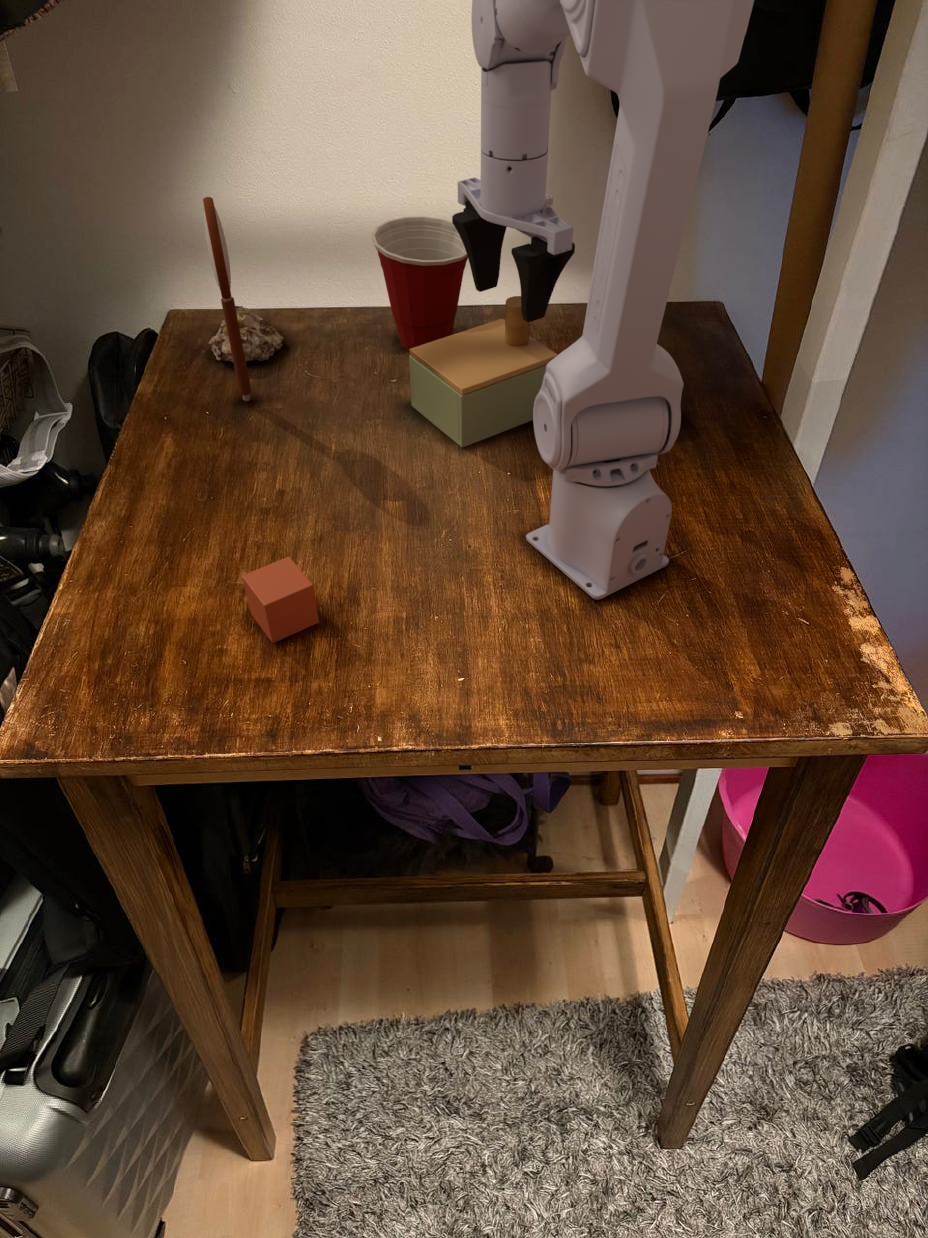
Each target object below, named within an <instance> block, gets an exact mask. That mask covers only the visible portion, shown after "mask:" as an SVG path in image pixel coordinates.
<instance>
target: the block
mask: <svg viewBox="0 0 928 1238" xmlns="http://www.w3.org/2000/svg"><path fill="white" fill-rule="evenodd" d="M241 579H242V583H243V587H244V591H245V596H246V600H247V604H248V608H249V612H250V615H251V616H252V618H254V620H255V622H256V623H257V624H258V625H259V627H260V628H261V630H262V631H263V633H265V635H266V636H267V638H268V639H269V640H270V641H271V644H275V643H277V642H280V641H281V640H283V639H286V638H288V637H290V636H293V635H294V634H297V633H299V632H302V631H303V630H306V629H308V628H310V627H312V626H314V625H317V624H319V623H320V618H319V613H318V606H317V600H316V594H315V588H314V584H313V583H312V582H311V581H310V580H309V578H308V577H307V575H305V573H304V572H303V571H302V570H301V568H300V567H299V566H298V565H297V564H296V563H295V561H294V560H293V559H292V558H291V557H290V556H287V557H284V558H282V559H281V558H280V559H279V560H277V561H274V562H271V563H268V564H267V565H265V566H262V567H260V568H256V569H254V570H253V571H250V572H247V573H245V574H242V576H241Z"/></svg>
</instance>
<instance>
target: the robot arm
mask: <svg viewBox="0 0 928 1238" xmlns="http://www.w3.org/2000/svg"><path fill="white" fill-rule="evenodd" d="M754 3H755V0H471V19H470V20H471V35H472V44H473V51H474V55H475V58H476V62H477V64H478V66H479V67H480V68H481V69H480V74H481V75H480V91H481V92H480V178H478V177H475V176H474V177H470V178H466V179H463V180H458V181H457V203H458V204H459V205H461V206H464V208H463V211H460V212H457V213H454V214H453V215H452V216H451V220H452V221H451V222H452V223H453V225H454V226H455V228H456V230H457V231H458V233H459V235H460V237H461V240H462V242H463V244H464V247H465V250H466V253H467V256H468V259H467V260H468V263H469V267H470V271H471V275H472V279H473V283H474V287H475V290H476V291H477V292H479V293H481V292H482V293H483V292H484V291H488V290H491V289H495V288H497V287H498V283H499V278H500V271H501V270H500V269H501V259H502V249H503V244H504V238H505V234H506V232H507V228H510V229H514V230H516V231H517V232H520V233H521V234H523V235H525V236H527V237H529V238H530V243H525V244H521V245H519V246H516V247H512V248H511V255H512V257H513V260H514V263H515V266H516V269H517V273H518V278H519V284H520V285H519V286H520V296H521V310H522V316H523V320H525V321H526V322H530V323H531V322H534V321H537V320H540V319H544V318H545V316H546V313H547V311H548V306H549V304H550V301H551V299H552V298H551V297H552V295H553V293H554V289H555V287H556V284H557V282H558V280H559V278H560V276H561V274H562V273H563V270H564V269H565V267H566V265H567V264H568V262H569V261H570V259H571V258H572V257H573V255H574V254H575V250H576V244H575V243H574V242H573V240H574V237H573V236H574V227H573V226H571V224H568V223H567V222H566V221H564V220H563V218H562V217H561V216H560V215H559V214H558V213H557V212H556V211H555V209H554V208H553V207H552V206H553V205H554V196H553V195H552V194H550V193H548V192H547V178H548V162H549V161H548V160H549V159H548V158H549V140H550V126H551V125H550V123H551V104H552V91H554V90H556V89H557V86H558V84H559V73H560V64H561V60H562V58H563V55H564V51H565V48H566V47H565V46H566V42H567V38H568V37H569V36H570V35H571V37H572V41H573V43H574V47H575V50H576V52H577V54H578V55H579V59H580V62H581V65H582V68H583V71H584V75H585V76H586V77H587V78H589V79H590V80H592V81H594V82H596V83H598V84H600V85H602V86H603V87H605V88H607V89H608V90H610V91H612V92H614V93H615V94H616V95H617V97H618V102H619V108H618V114H617V120H616V127H615V133H614V138H613V145H612V152H611V156H610V157H611V158H610V163H609V170H608V176H607V182H606V188H605V193H604V201H603V207H602V212H601V219H600V224H599V231H598V237H597V242H596V249H595V255H594V261H593V268H592V269H593V270H592V274H591V280H590V286H589V293H588V299H587V305H586V310H585V311H586V312H585V317H584V323H583V330H582V335H581V336H580V337H579V338H578V339H577V340H576V341H574V342H573V343H572V344H571V345H569V346H568V347H567V348H565V349H564V350H562V351H561V352H560V353H559V354H558V356H556V357H555V358H554V359H553V360H551V361H550V362H549V363H548V364H547V366H546V373H545V375H544V378H543V383H542V386H541V389H540V391H539V393H538V395H537V396H536V398H535V402H534V408H533V420H532V423H533V433H534V438H535V443H536V446H537V450H538V452H539V455H540V457H541V459H542V461H543V462H544V463H545V464H546V465H548V466H549V468H550V469H552V481H551V482H552V483H551V493H550V495H551V496H550V509H549V522H548V523H547V524H545V525H543V526H541V527H539V528H536V529H534V530H532V531H530V532H528V533H527V534H526V535H525V540H526V542H528V543H529V544H530V545H531V546H532V547H533V548H535V550H537V551H538V552H539V553H541V555H543V557H545V558H546V559H547V560H548V561H549V562H551V564H553V565H554V566H555V567H556V568H558V569H559V571H561V572H562V573H563V574H564V575H565V576H566V577H568V578H569V579H570V580H571V581H572V582H573V583H575V585H577V586H578V587H579V588H580V589H582V591H584V592H585V593H586V594H587V595H588V596H589V597H591V599H594V600H597V601H598V600H599V601H600V600H602V599H604V598H606V597H608V596H610V595H612V594H614V593H615V592H618V591H620V590H621V589H624V588H626V587H628V586H630V585H631V584H633V583H635V582H638V581H639V580H641V579H643V578H645V577H647V576H650V575H651V574H653V573H655V572H657V571H659V570H661V569H663V568H665V567H667V566H668V565H669V562H670V559H669V557H667V555H665V549H666V545H667V540H668V534H669V530H670V524H671V521H672V520H671V519H672V514H673V504H672V501H671V499H670V497H669V496H668V495H667V494H666V493H665V492H664V490H662V489H661V488H660V486H659V485H658V484H657V483H656V481H655V479H654V477H653V475H652V473H651V469H656V468H657V464H658V458H659V455H662V454H666V453H669V452H670V451H671V450H672V448H673V447H674V444H675V443H676V440H677V439H678V437H679V433H680V429H681V424H682V423H681V422H682V409H681V401H682V393H683V389H684V385H685V384H684V381H683V377H682V374H681V372H680V369H679V367H678V365H677V363H676V362H675V360H674V359H673V357H672V356H671V354H670V353H669V352H668V351H667V350H666V349H665V348H663V347H662V346H661V345H659V344H658V340H659V336H660V332H661V328H662V323H663V319H664V315H665V311H666V307H667V304H668V299H669V295H670V292H671V291H670V290H671V286H672V282H673V278H674V274H675V269H676V266H677V261H678V258H679V253H680V249H681V245H682V240H683V236H684V233H685V228H686V225H687V220H688V216H689V212H690V208H691V204H692V200H693V195H694V191H695V187H696V183H697V179H698V175H699V170H700V166H701V163H702V158H703V154H704V151H705V147H706V146H705V145H706V141H707V137H708V133H709V130H710V125H711V121H712V118H713V117H712V116H713V113H714V109H715V105H716V100H717V96H718V91H719V87H720V82H721V79H722V78H723V77H724V76H725V75H726V74H727V73H728V72H729V71H730V70H732V68H734V67H735V66H736V65H737V64H738V63H739V60H740V56H741V52H742V49H743V44H744V40H745V37H746V34H747V32H748V26H749V22H750V18H751V14H752V11H753V7H754Z"/></svg>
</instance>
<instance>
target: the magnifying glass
mask: <svg viewBox="0 0 928 1238" xmlns="http://www.w3.org/2000/svg"><path fill="white" fill-rule="evenodd" d="M202 203H203V225H204V234H205V235H204V237H205V241H206V247H207V253H208V257H209V261H210V266H211V269H212V272H213V276H214V278H215V281H216V284H217V286H218V288H219V291H220V295H221V299H220V302H221V309H222V313H223V318H225V322H226V327H227V332H228V337H229V342H230V347H231V352H232V357H233V362H232V363H233V367H234V371H235V372H234V373H235V376H236V382H237V386H238V391H239V395H241V396H242V400H243V401H245V402H249V401H250V400H251V394H252V387H251V382H250V376H249V371H248V366H247V362H246V360H245V355H244V350H243V344H242V339H241V334H240V329H239V323H238V318H237V313H236V308H235V306H236V303H235V299H234V297H233V296H232V292H231V287H232V275H231V265H230V256H229V251H228V246H227V240H226V235H225V233H224V228H223V226H222V222H221V219H220V216H219V213H218V210H217V209H216V207H215V203H214V198H213V197H212V196H205V197H204V198H202Z"/></svg>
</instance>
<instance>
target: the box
mask: <svg viewBox="0 0 928 1238" xmlns="http://www.w3.org/2000/svg"><path fill="white" fill-rule="evenodd" d="M408 364H409V384H410V385H409V386H410V403H411V404H410V405H411V407H412V408H413V409H415V410H416V411H417V412H418V413H419V414H421V415H422V416H423V417H424V418H425V419H426V420H428V421H429V422H430V423H432V424H433V425H434V426H435V427H436V428H437V429H439V430H440V431H441V432H442V433H443V434H445V435H446V436H447V437H448V438H450V439H451V440H452V441H453V442H454V443H456V444H457V445H458V446H459V447H460V448H462V449H463V448H465V447H468V446H471V445H473V444H475V443H478V442H480V441H483V440H485V439H488V438H491V437H494V436H496V435H498V434H501V433H503V432H506V431H508V430H509V431H510V430H511V429H514V428H517V427H518V426H522V425H524V424H526V423H529V422H531V421H532V422H533V408H534V402H535V398H536V396H537V395H538V393H539V391H540V389H541V386H542V383H543V378H544V375H545V373H546V366H547V364H546V365H543V366H540V367H538V368H535V369H532V370H529V371H527V372H524V373H521V374H518V375H516V376H513V377H510V378H507V379H505V380H502V381H499V382H496V383H494V384H491V385H488V386H485V387H483V388H480V389H477V390H474V391H472V392H469V393H466V394H464V395H462V394H461V393H459V392H458V391H457V390H455V389H454V388H453V387H451V386H450V385H449V384H448V383H446V382H445V381H444V380H442V379H441V378H440V377H439V376H437V375H436V374H435V373H433V372H432V371H431V370H429V369H428V368H427V367H426V366H424V365H423V364H422V363H420V362H419V361H418V360H416V359H415V358H414V357H413V356H411V355H410V354H409V356H408Z"/></svg>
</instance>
